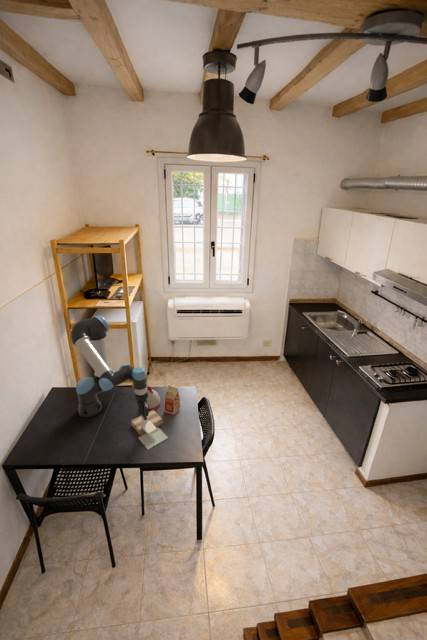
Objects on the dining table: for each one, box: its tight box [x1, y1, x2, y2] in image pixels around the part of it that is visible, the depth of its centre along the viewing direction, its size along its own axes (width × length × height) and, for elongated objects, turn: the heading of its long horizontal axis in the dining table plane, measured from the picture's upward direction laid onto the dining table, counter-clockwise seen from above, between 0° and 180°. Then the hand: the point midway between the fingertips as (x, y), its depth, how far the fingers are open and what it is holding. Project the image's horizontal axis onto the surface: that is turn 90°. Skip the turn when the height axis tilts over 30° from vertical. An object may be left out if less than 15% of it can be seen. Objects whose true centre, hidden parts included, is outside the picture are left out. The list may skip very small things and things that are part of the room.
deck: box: [130, 409, 164, 437], centre depth 200 cm, size 12×16×4 cm
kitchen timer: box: [146, 385, 161, 411], centre depth 217 cm, size 14×14×15 cm
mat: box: [137, 426, 169, 450], centre depth 191 cm, size 12×14×1 cm
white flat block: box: [141, 421, 157, 436], centre depth 191 cm, size 9×6×2 cm, turn 40°
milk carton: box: [163, 384, 181, 415], centre depth 211 cm, size 9×9×20 cm
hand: (145, 422), depth 195 cm, fingers closed
